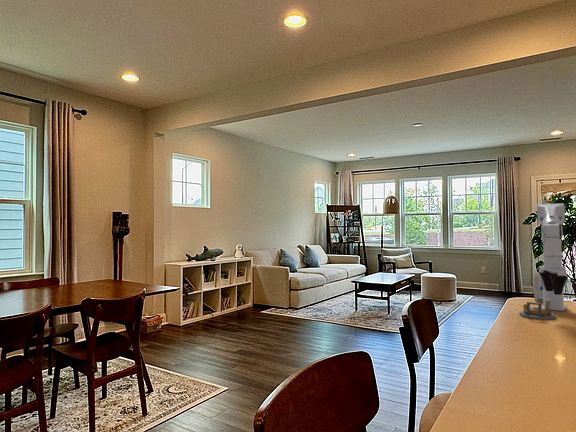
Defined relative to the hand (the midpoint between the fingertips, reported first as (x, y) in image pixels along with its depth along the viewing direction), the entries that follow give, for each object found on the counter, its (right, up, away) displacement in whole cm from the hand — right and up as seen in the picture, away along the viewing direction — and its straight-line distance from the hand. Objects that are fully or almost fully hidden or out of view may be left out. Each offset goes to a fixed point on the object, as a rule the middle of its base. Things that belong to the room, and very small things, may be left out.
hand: (553, 292), depth 151 cm
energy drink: (+18, -11, +36) cm, 42 cm away
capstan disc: (-2, -9, +7) cm, 11 cm away
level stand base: (-2, -10, +7) cm, 12 cm away
